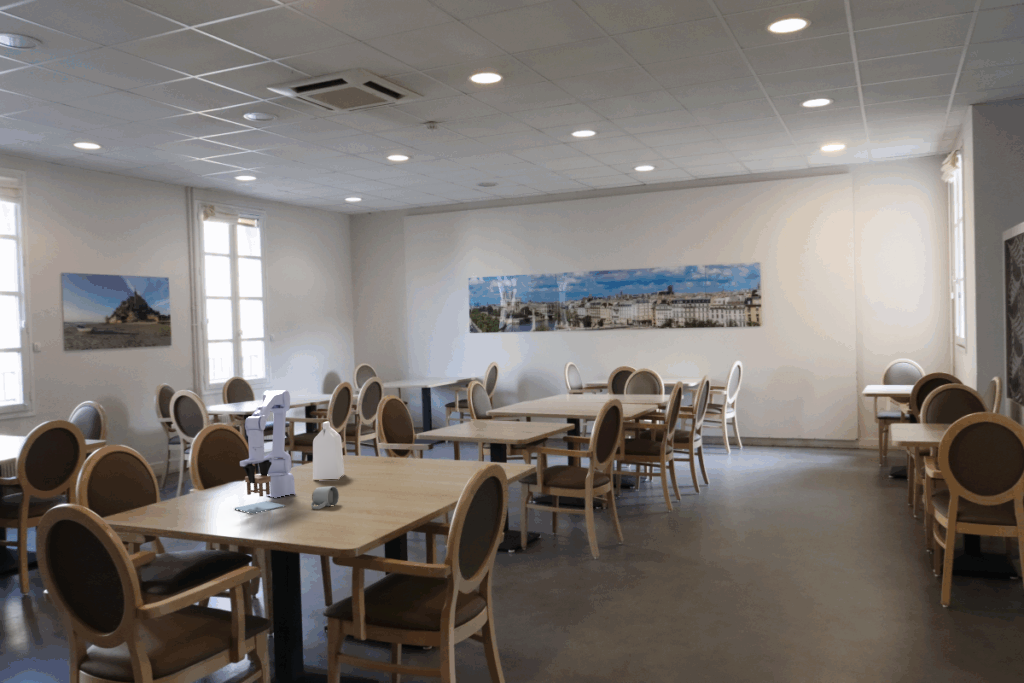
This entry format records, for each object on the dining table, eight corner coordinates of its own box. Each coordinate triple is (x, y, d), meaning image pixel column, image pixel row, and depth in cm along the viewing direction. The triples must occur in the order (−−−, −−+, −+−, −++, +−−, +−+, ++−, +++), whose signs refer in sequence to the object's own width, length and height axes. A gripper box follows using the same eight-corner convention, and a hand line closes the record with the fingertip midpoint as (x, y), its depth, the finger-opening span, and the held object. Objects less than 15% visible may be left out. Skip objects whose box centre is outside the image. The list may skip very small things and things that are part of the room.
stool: (271, 494, 298) (270, 476, 298) (260, 496, 294) (260, 478, 294) (256, 492, 303) (255, 474, 303) (245, 494, 299) (244, 476, 299)
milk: (320, 475, 363) (317, 421, 363) (344, 474, 363) (341, 420, 362) (312, 480, 351) (310, 424, 351) (337, 479, 351) (334, 423, 350)
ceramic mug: (322, 503, 303) (320, 483, 302) (339, 503, 300) (338, 484, 300) (305, 510, 293) (304, 490, 292) (324, 510, 290) (322, 490, 290)
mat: (266, 502, 308) (266, 501, 308) (285, 506, 299) (285, 505, 299) (233, 509, 298) (233, 508, 298) (251, 514, 289) (251, 512, 289)
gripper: (264, 443, 306) (266, 477, 307) (234, 449, 294) (235, 484, 294) (276, 444, 303) (278, 478, 303) (245, 450, 290) (247, 485, 291)
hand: (258, 481), depth 298 cm, fingers closed on stool, 5 cm apart
